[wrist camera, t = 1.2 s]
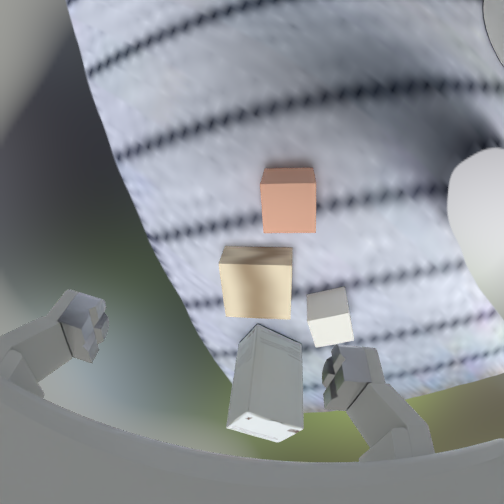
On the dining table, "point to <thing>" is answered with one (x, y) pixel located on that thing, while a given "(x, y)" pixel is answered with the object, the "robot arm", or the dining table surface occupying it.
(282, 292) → the beech base
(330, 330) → the offwhite cube
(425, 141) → the dining table surface
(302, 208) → the terracotta cube
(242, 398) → the skincare box
